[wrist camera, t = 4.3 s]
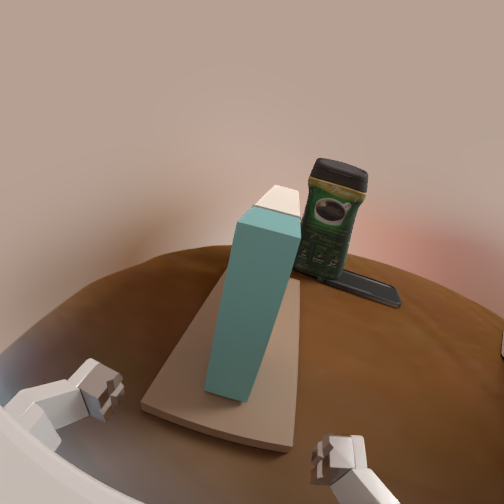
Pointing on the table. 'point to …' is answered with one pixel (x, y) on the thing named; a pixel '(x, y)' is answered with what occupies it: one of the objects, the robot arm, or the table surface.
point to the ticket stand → (267, 380)
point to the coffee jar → (329, 217)
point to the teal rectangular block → (251, 299)
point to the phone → (365, 288)
